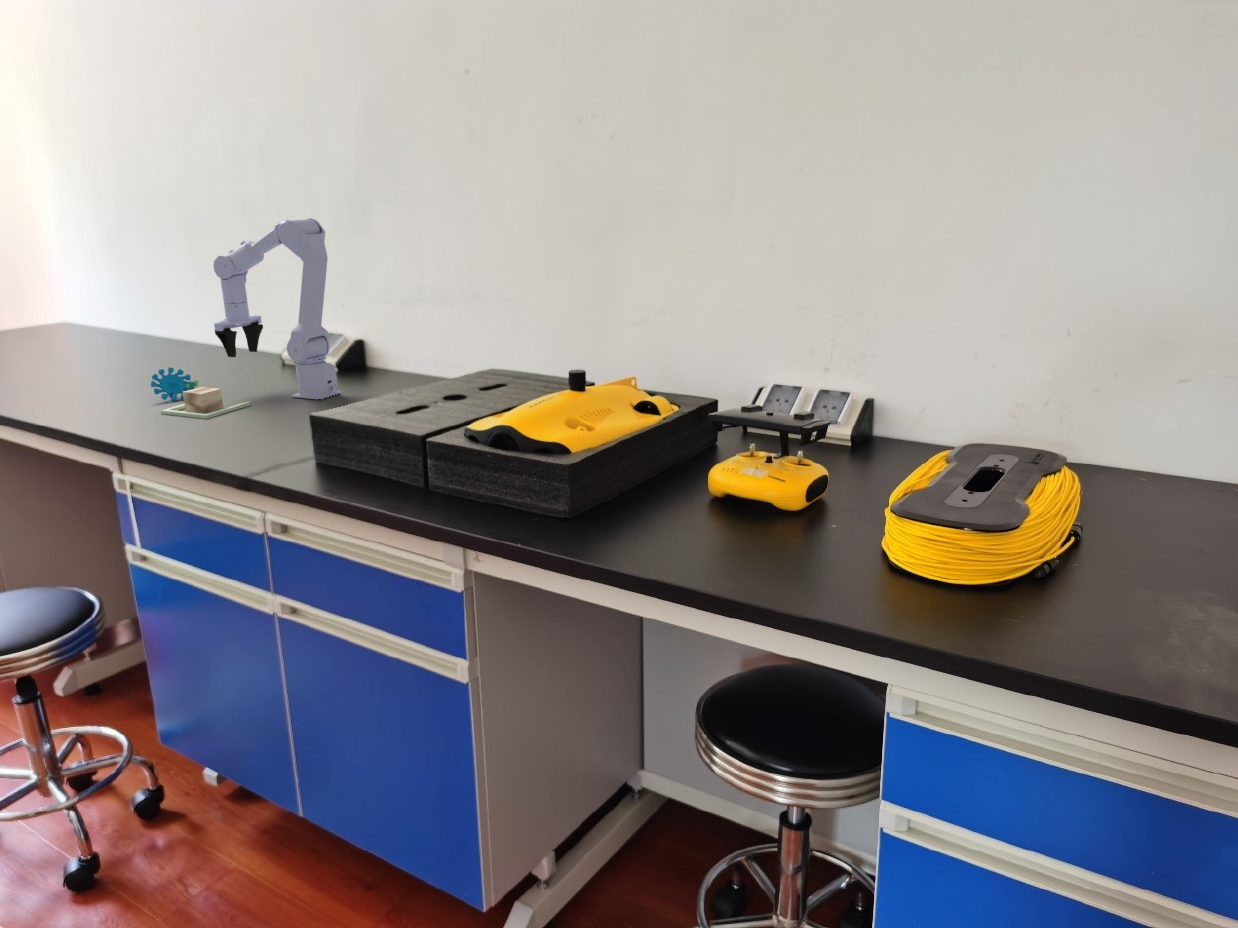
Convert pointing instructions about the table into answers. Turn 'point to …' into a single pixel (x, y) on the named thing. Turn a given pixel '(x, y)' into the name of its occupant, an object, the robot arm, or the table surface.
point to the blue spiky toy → (172, 384)
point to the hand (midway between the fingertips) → (242, 354)
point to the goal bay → (199, 415)
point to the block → (203, 400)
